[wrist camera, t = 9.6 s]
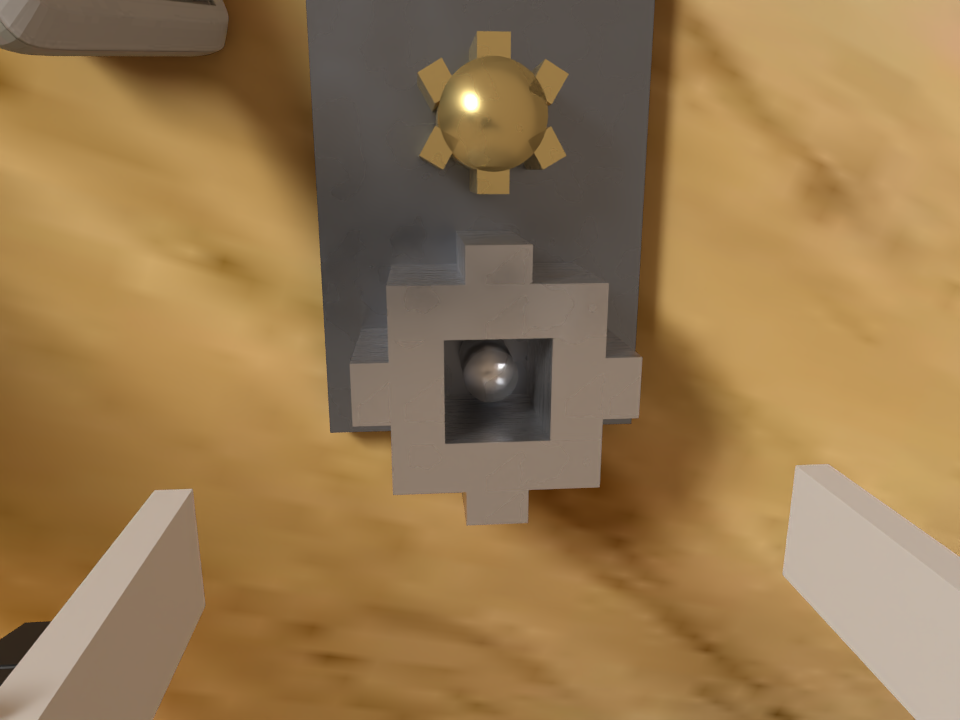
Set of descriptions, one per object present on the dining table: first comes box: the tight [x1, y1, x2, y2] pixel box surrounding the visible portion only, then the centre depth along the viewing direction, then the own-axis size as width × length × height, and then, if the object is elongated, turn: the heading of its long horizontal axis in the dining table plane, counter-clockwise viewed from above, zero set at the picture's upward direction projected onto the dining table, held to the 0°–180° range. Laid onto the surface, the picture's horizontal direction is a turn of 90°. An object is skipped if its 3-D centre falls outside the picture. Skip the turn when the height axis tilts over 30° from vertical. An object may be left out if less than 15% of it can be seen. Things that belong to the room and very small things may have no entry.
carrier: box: [306, 0, 655, 433], centre depth 30 cm, size 14×22×6 cm, turn 0°
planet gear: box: [350, 231, 642, 525], centre depth 30 cm, size 11×11×6 cm
